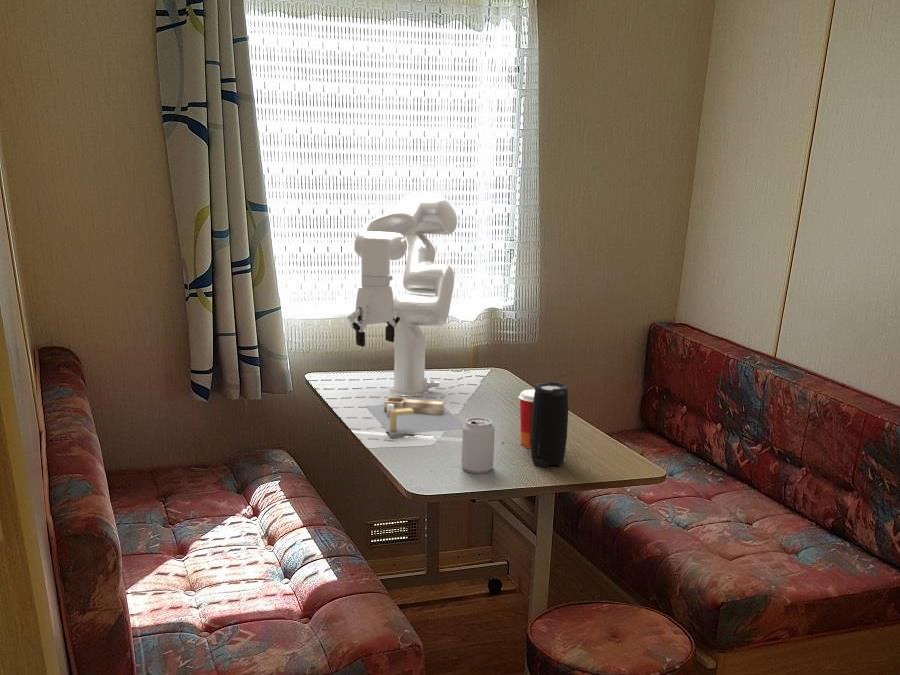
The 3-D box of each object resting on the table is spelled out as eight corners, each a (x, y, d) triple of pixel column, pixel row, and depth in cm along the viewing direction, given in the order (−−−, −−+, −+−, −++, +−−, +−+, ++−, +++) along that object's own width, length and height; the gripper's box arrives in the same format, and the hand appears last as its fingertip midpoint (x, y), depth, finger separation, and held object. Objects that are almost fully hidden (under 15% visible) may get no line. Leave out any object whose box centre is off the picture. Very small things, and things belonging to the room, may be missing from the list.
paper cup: (549, 442, 213) (552, 390, 210) (543, 451, 206) (545, 398, 203) (520, 438, 215) (522, 387, 212) (513, 447, 208) (515, 394, 205)
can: (460, 463, 196) (461, 415, 193) (490, 463, 197) (492, 415, 194) (463, 474, 189) (464, 425, 186) (495, 474, 189) (497, 425, 187)
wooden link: (384, 411, 232) (384, 401, 232) (388, 406, 238) (388, 396, 237) (441, 416, 230) (441, 405, 229) (444, 410, 235) (445, 400, 234)
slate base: (436, 403, 245) (436, 383, 244) (469, 431, 220) (469, 409, 219) (365, 409, 237) (365, 388, 236) (390, 438, 213) (391, 415, 211)
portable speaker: (550, 454, 204) (554, 378, 200) (573, 466, 196) (578, 388, 192) (521, 459, 200) (525, 382, 196) (543, 471, 192) (548, 391, 188)
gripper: (393, 277, 227) (392, 337, 230) (340, 282, 216) (341, 345, 219) (409, 280, 221) (409, 341, 225) (356, 285, 210) (356, 350, 214)
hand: (375, 343), depth 222 cm, fingers open, 9 cm apart
